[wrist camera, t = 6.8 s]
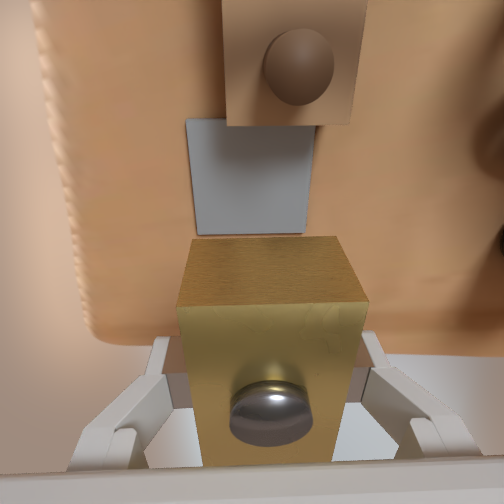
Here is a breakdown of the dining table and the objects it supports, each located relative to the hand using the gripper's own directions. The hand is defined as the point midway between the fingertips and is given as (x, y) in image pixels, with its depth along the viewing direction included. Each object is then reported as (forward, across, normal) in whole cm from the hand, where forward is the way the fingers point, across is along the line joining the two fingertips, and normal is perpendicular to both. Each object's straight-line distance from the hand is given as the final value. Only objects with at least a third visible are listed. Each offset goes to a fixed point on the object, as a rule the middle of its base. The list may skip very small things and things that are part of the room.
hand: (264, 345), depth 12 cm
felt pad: (+16, 0, 0) cm, 16 cm away
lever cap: (+1, 0, 0) cm, 1 cm away
